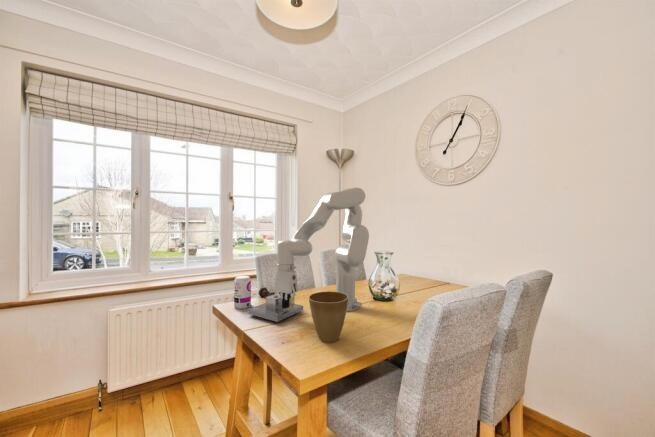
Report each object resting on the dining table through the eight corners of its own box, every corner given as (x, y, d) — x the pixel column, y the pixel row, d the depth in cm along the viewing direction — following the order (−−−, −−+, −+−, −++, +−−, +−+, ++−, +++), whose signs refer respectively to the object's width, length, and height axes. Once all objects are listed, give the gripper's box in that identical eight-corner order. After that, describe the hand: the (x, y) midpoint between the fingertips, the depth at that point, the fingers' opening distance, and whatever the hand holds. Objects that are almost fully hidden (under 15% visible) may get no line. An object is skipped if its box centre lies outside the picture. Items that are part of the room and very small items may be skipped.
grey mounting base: (306, 310, 137) (306, 296, 137) (277, 324, 119) (277, 308, 119) (278, 304, 146) (278, 291, 146) (247, 315, 129) (248, 301, 129)
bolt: (274, 306, 150) (261, 298, 162) (281, 299, 153) (268, 293, 164) (270, 297, 148) (256, 290, 159) (277, 291, 151) (263, 285, 162)
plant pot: (333, 327, 117) (333, 289, 117) (355, 341, 104) (356, 298, 104) (301, 335, 109) (301, 294, 109) (321, 351, 96) (321, 304, 96)
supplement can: (253, 304, 147) (253, 275, 146) (247, 309, 138) (247, 279, 138) (238, 303, 147) (238, 275, 147) (231, 309, 139) (231, 278, 139)
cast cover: (284, 306, 133) (284, 296, 133) (275, 310, 128) (275, 299, 128) (274, 304, 136) (274, 294, 136) (265, 307, 131) (265, 297, 131)
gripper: (303, 268, 127) (303, 308, 128) (279, 264, 136) (279, 302, 136) (293, 270, 121) (292, 313, 121) (268, 266, 129) (268, 306, 130)
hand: (285, 307), depth 129 cm, fingers closed
